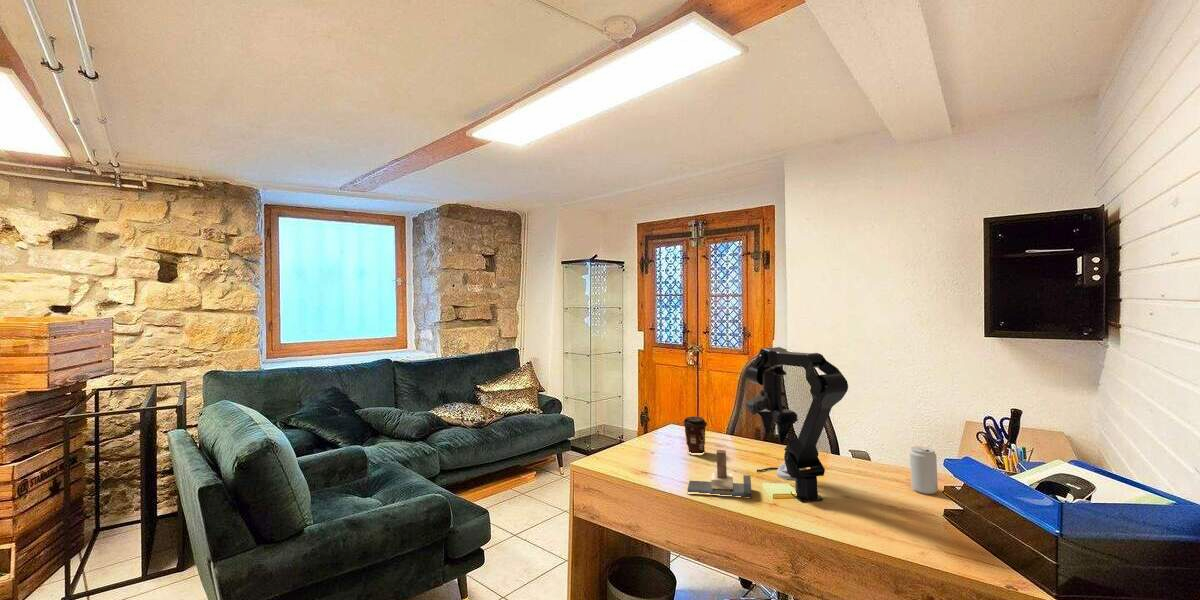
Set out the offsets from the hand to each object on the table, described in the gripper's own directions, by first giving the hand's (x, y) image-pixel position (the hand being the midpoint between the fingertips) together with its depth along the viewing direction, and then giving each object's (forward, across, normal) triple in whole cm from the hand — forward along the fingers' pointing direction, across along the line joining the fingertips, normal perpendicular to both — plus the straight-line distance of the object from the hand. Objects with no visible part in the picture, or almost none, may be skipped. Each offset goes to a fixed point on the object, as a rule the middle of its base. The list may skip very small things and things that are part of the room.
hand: (774, 438), depth 154 cm
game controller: (+14, -8, +5) cm, 17 cm away
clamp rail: (+13, +5, -20) cm, 24 cm away
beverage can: (+13, +18, +36) cm, 42 cm away
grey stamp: (+11, +5, -19) cm, 23 cm away
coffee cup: (+14, -31, -15) cm, 37 cm away
